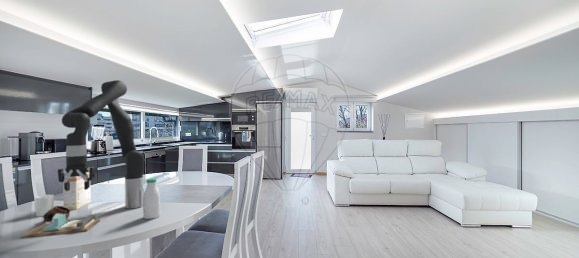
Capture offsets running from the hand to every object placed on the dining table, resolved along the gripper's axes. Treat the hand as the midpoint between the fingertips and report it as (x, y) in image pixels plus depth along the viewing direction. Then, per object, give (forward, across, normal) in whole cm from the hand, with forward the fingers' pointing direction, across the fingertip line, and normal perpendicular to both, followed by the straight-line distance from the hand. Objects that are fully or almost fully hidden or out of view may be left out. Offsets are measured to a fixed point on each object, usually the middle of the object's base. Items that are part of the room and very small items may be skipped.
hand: (77, 189), depth 118 cm
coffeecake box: (+18, +18, -41) cm, 48 cm away
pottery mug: (+18, +16, -14) cm, 28 cm away
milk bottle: (+18, -31, -5) cm, 36 cm away
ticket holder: (+18, +4, 0) cm, 18 cm away
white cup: (+18, +28, -29) cm, 44 cm away
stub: (+17, +8, 0) cm, 19 cm away
